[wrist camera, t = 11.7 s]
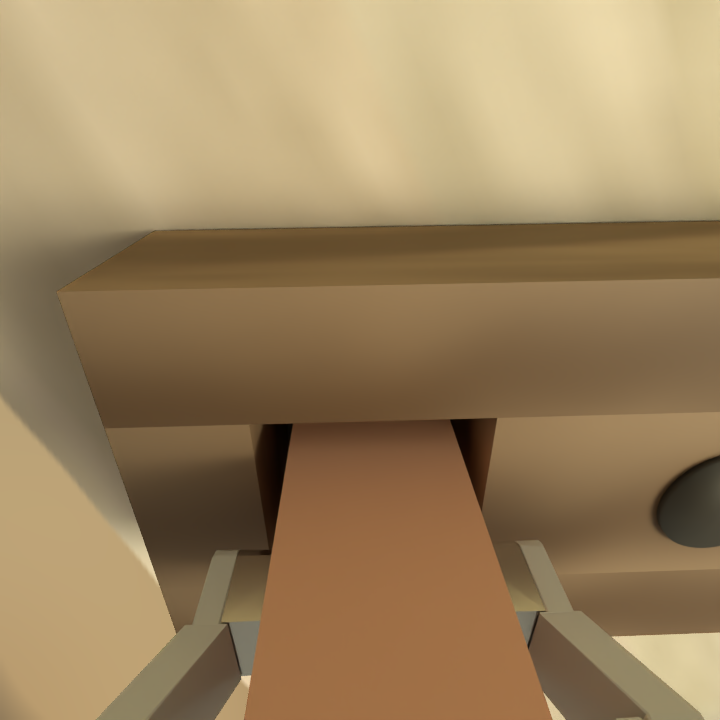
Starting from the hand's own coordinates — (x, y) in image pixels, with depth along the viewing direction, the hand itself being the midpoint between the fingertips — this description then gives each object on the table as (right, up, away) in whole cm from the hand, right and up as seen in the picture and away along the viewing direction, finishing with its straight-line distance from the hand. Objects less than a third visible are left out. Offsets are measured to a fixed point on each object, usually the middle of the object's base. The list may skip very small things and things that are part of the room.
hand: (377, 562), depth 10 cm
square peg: (0, +2, +4) cm, 5 cm away
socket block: (+4, +3, +6) cm, 8 cm away
